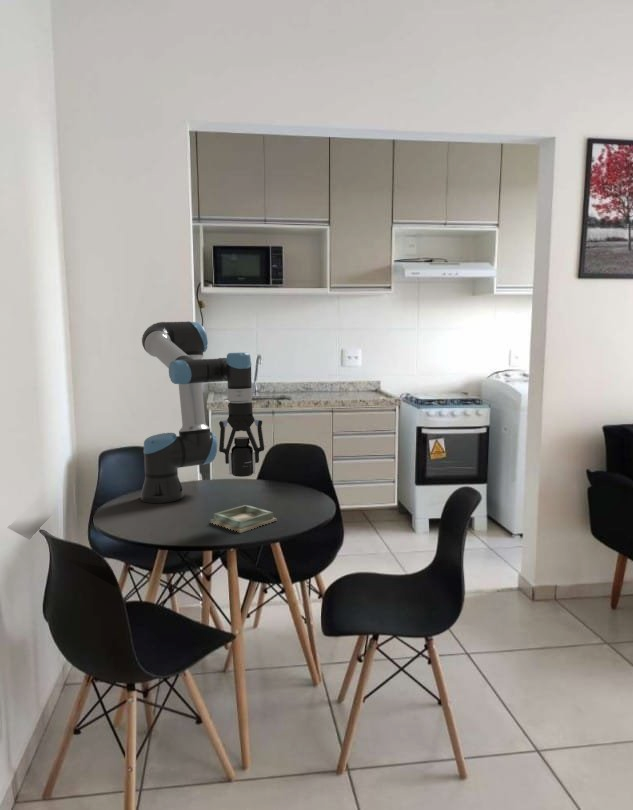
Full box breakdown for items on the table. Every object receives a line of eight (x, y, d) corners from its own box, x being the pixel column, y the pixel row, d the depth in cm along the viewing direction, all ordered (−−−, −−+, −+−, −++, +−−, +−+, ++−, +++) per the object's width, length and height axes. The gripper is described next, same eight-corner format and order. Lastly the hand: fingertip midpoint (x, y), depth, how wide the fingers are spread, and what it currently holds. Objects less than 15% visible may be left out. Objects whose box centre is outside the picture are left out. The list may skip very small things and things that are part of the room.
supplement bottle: (250, 477, 194) (248, 439, 192) (229, 477, 195) (227, 439, 194) (256, 472, 200) (255, 436, 199) (236, 472, 202) (234, 435, 200)
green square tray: (210, 522, 197) (209, 513, 197) (246, 512, 208) (246, 503, 208) (240, 533, 187) (240, 523, 187) (276, 521, 198) (276, 512, 197)
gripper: (207, 403, 191) (210, 476, 193) (271, 402, 192) (273, 474, 194) (210, 401, 198) (213, 471, 201) (272, 399, 199) (274, 469, 202)
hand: (242, 473), depth 198 cm, fingers closed on supplement bottle, 7 cm apart
